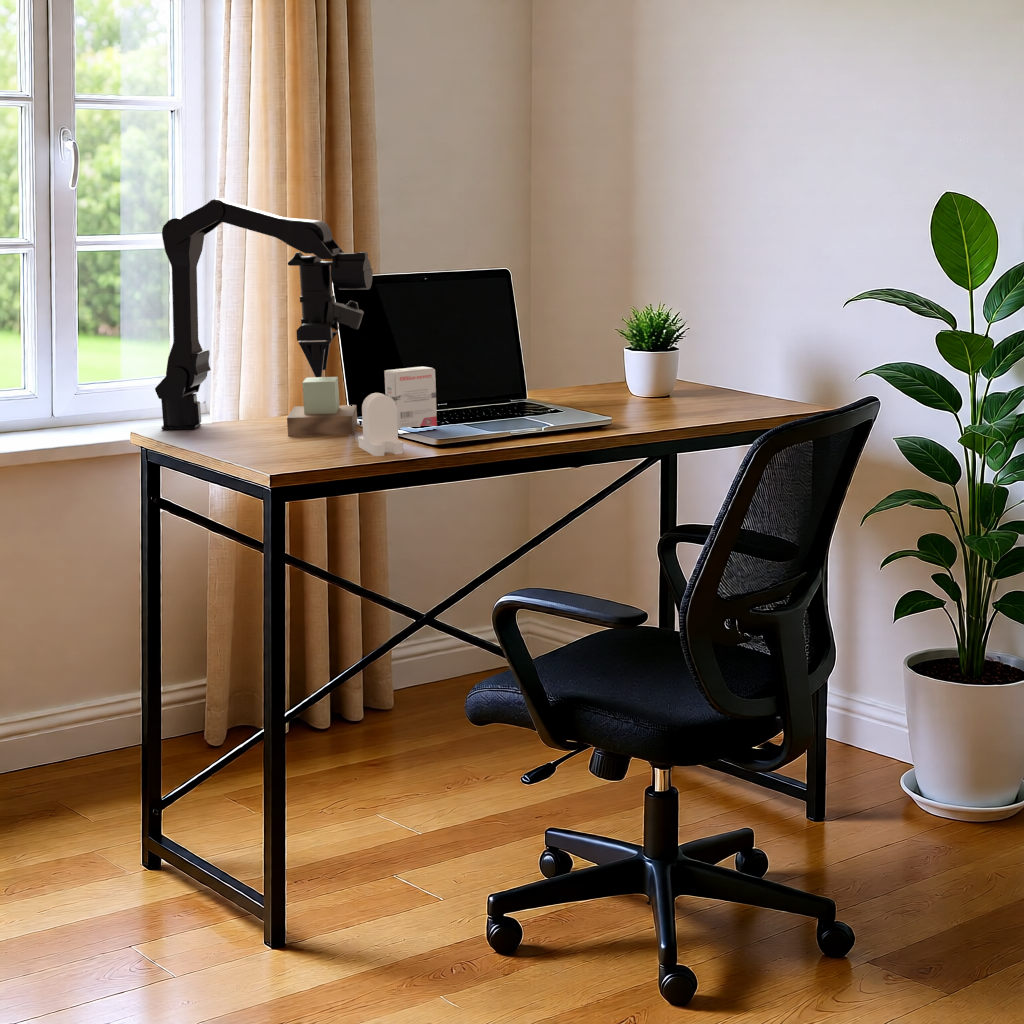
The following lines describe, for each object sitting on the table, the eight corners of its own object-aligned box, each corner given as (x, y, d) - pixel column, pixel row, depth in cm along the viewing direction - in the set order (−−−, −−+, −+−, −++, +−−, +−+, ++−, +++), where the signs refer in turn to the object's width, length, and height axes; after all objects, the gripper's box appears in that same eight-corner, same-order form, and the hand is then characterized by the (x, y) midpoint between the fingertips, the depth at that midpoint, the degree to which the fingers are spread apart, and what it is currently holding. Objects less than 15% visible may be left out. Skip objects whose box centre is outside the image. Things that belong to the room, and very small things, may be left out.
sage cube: (304, 414, 261) (302, 382, 260) (308, 408, 267) (306, 377, 265) (336, 413, 261) (334, 381, 260) (339, 407, 267) (337, 376, 265)
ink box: (426, 426, 266) (424, 364, 263) (438, 430, 261) (436, 367, 259) (385, 431, 261) (383, 368, 258) (397, 435, 257) (394, 372, 254)
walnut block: (288, 439, 259) (286, 417, 258) (295, 426, 270) (294, 406, 269) (352, 437, 259) (351, 416, 258) (357, 425, 271) (356, 404, 270)
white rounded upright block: (375, 456, 239) (372, 399, 237) (357, 446, 248) (355, 391, 246) (404, 453, 241) (402, 396, 239) (386, 443, 250) (383, 388, 248)
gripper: (356, 293, 249) (360, 379, 253) (362, 284, 268) (366, 365, 271) (293, 294, 249) (299, 381, 253) (304, 286, 267) (309, 366, 271)
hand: (320, 373), depth 262 cm, fingers open, 9 cm apart
